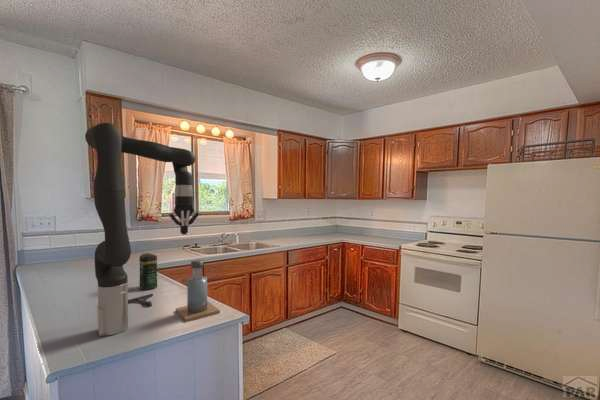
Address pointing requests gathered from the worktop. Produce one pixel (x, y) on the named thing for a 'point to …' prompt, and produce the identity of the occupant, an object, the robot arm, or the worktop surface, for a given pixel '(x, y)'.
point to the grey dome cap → (197, 264)
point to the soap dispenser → (197, 299)
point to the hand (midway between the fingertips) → (184, 234)
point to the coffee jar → (148, 271)
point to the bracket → (143, 301)
